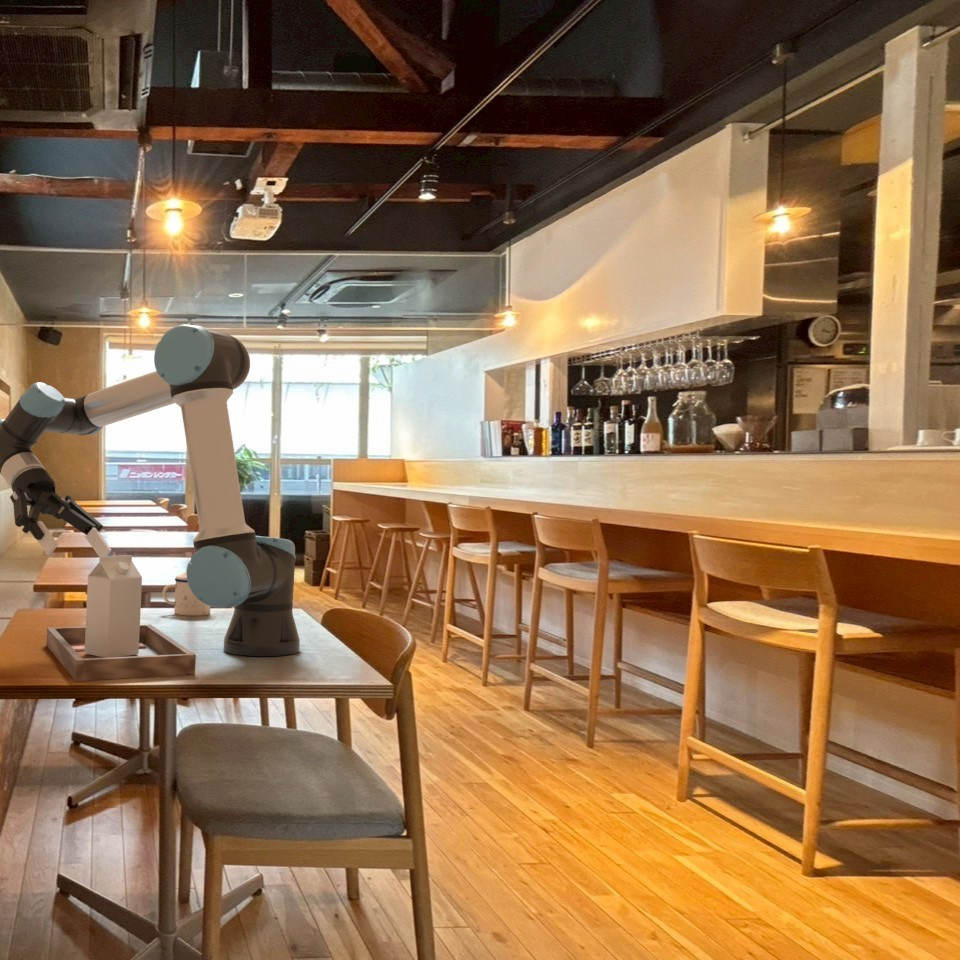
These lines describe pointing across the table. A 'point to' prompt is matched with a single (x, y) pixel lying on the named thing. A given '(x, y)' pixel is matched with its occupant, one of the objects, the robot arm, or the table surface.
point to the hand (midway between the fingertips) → (80, 552)
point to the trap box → (167, 664)
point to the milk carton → (113, 608)
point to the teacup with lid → (185, 599)
